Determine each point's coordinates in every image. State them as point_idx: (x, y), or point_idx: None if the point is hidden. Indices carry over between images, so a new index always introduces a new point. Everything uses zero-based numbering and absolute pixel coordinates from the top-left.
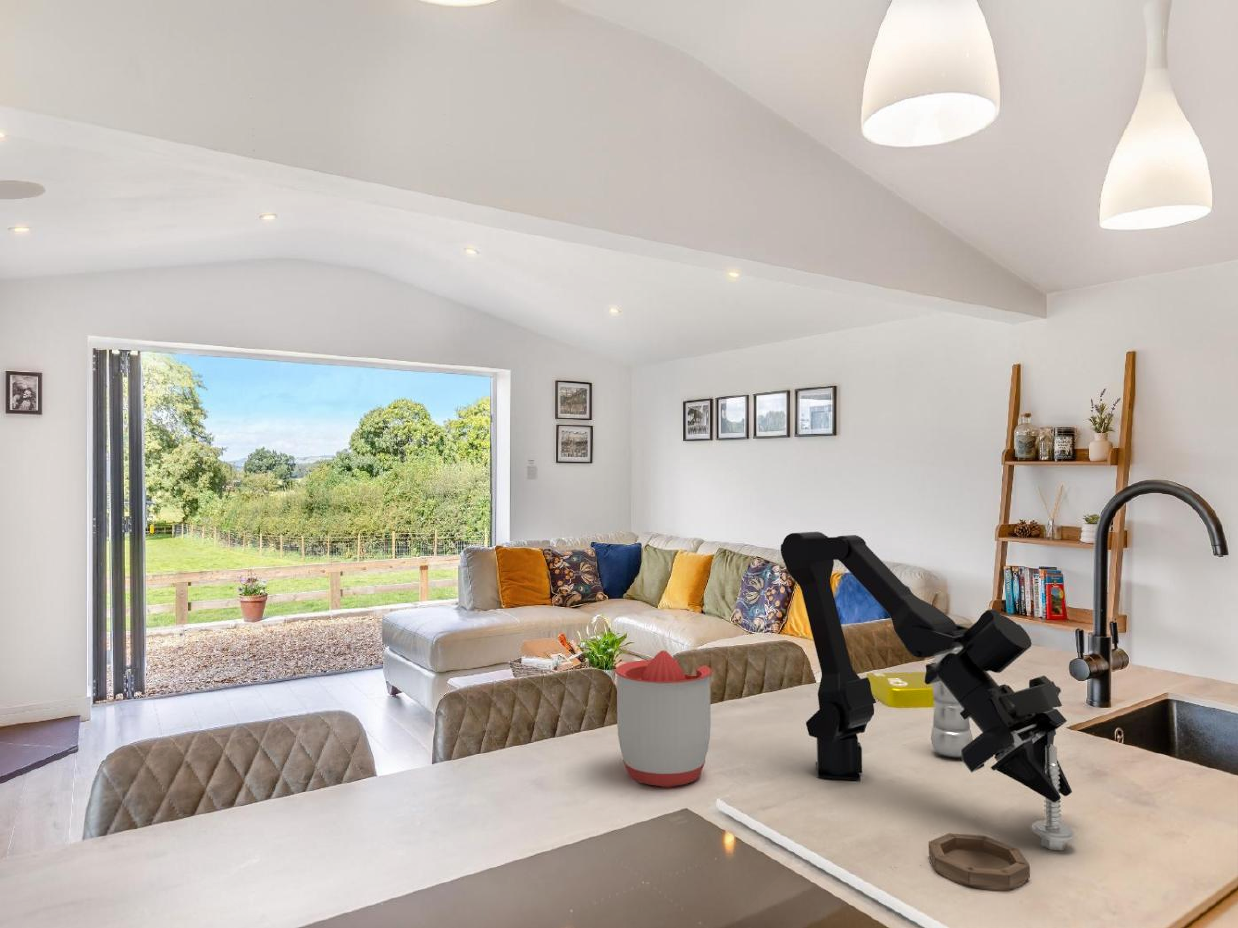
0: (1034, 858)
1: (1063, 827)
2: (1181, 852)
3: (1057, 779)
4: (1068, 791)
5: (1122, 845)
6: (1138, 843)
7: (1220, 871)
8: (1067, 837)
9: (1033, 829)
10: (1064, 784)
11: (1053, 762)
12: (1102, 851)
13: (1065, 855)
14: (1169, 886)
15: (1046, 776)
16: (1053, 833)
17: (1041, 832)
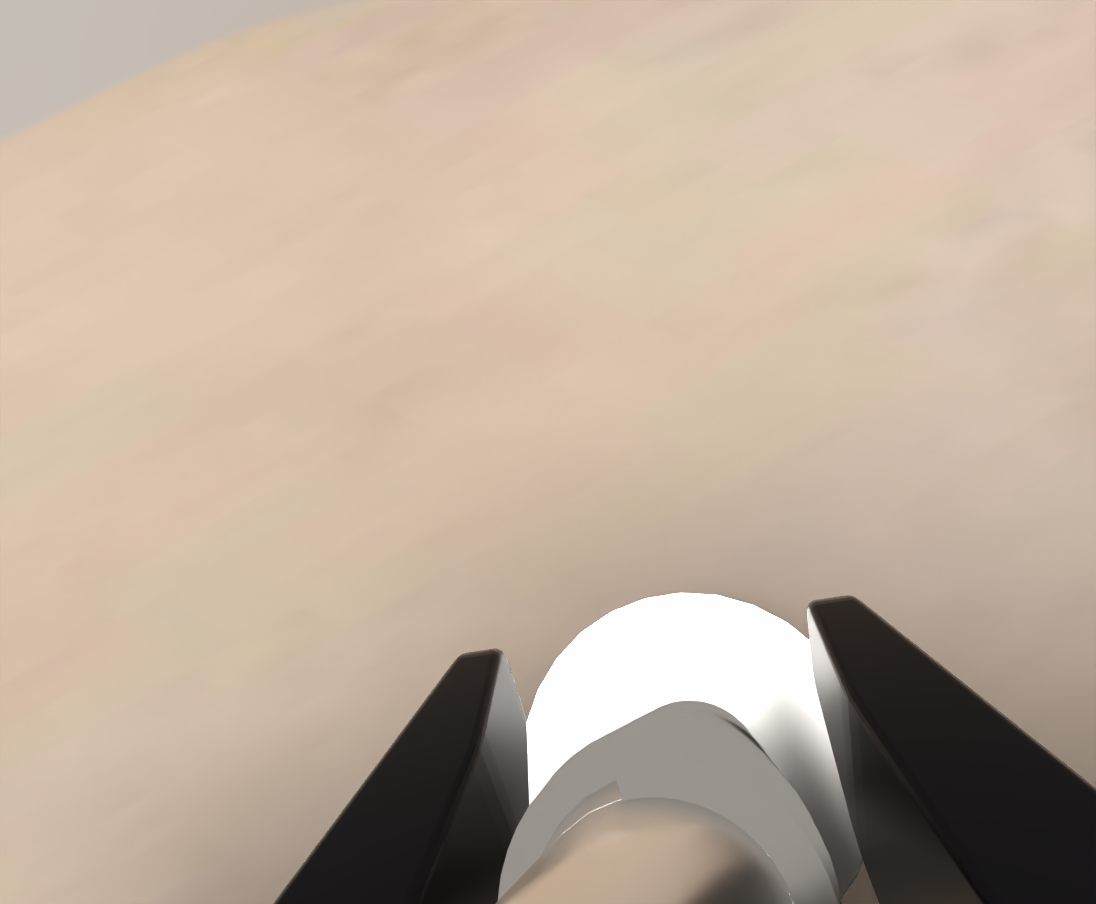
0: (1039, 708)
1: (608, 716)
2: (95, 287)
3: (700, 725)
4: (508, 674)
5: (266, 505)
6: (157, 472)
7: (185, 81)
8: (729, 605)
9: (851, 880)
10: (494, 732)
11: (738, 833)
12: (467, 519)
13: None
14: (594, 84)
15: (982, 813)
16: None
17: None
